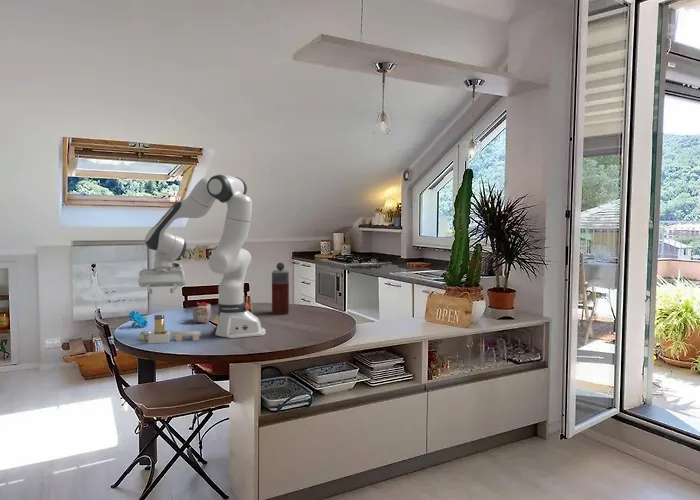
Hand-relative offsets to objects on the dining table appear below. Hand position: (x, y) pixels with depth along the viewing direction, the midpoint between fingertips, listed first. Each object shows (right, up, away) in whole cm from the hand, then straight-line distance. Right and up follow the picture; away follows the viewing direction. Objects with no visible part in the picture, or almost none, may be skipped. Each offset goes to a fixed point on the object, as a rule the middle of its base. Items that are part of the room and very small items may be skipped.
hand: (161, 292), depth 240 cm
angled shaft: (-3, -20, -9) cm, 22 cm away
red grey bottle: (+47, -16, +54) cm, 73 cm away
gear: (-17, -18, +18) cm, 30 cm away
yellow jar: (+3, -19, -11) cm, 22 cm away
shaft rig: (+10, -20, -9) cm, 24 cm away
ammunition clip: (+29, -17, +38) cm, 51 cm away
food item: (+10, -17, +31) cm, 37 cm away
